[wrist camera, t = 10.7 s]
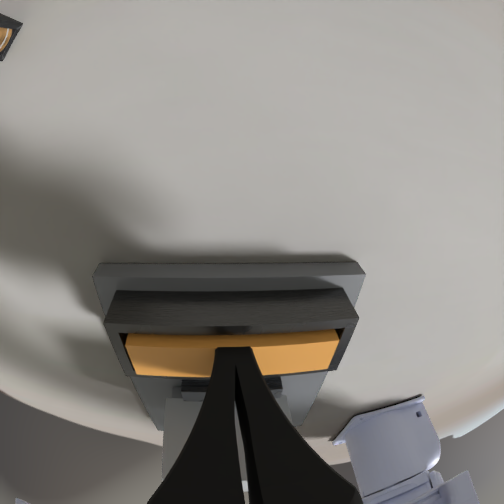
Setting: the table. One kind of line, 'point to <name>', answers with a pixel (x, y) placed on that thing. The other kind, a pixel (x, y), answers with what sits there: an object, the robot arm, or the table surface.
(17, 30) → the ammunition clip
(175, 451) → the block
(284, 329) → the gray slotted fixture
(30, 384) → the table surface
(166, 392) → the mounting board
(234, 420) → the robot arm
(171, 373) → the locking tab
